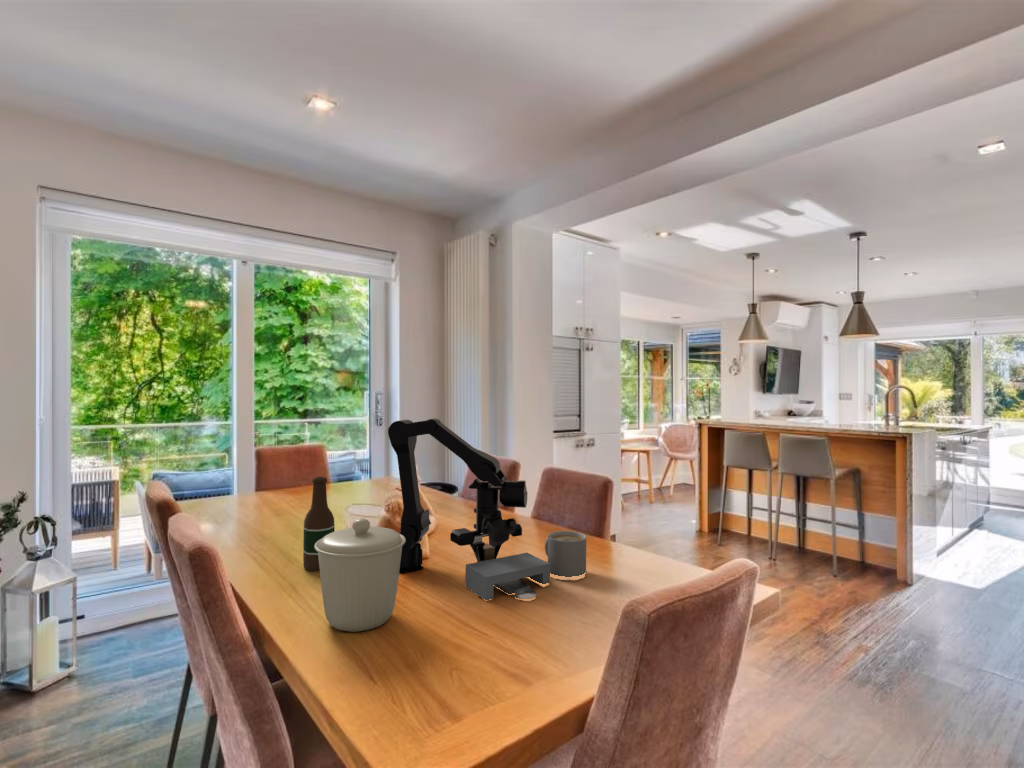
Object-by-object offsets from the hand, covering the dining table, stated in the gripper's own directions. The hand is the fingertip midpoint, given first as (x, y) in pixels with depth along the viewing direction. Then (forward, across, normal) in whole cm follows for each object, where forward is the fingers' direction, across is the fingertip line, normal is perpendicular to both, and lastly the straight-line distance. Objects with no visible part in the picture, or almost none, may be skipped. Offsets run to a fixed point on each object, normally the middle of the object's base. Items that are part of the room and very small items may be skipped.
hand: (486, 565), depth 137 cm
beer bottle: (+2, -36, +28) cm, 45 cm away
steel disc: (+2, 0, -18) cm, 18 cm away
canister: (+2, -36, -10) cm, 38 cm away
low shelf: (+2, 0, -10) cm, 11 cm away
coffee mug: (+2, +18, -10) cm, 20 cm away
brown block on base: (+2, 0, -7) cm, 7 cm away
